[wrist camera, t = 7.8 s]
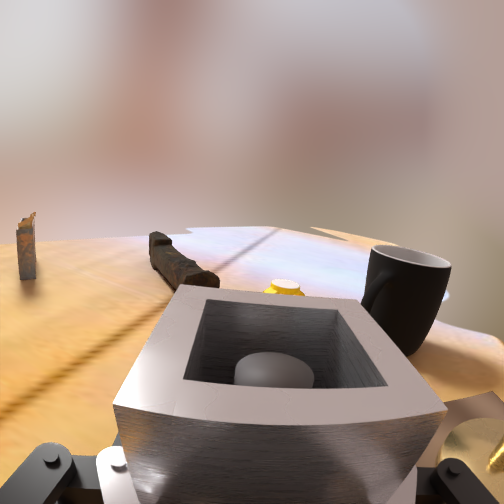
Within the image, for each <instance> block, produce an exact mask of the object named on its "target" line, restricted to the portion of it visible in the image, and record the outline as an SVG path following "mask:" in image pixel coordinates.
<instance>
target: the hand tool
mask: <svg viewBox="0 0 504 504" xmlns="http://www.w3.org/2000/svg"><path fill="white" fill-rule="evenodd" d="M149 255H150V262H151V265H152V267H153V269H155V270H159V271H160V272H161V274H162V275H163V276H165V277H166V278H167V280H168V281H169V283H170V284H171V286H173V287H174V288H175V289H176V290H177V289H178V287H179V285H180V284H183V285H192V286H201V287H210V288H219V287H220V280H219V277H218V276H217V275H215V274H214V273H212V272H210V271H205V270H203V269H201V268H200V267H199V266H198V265H197V264H196V262H195V261H194V260H190V259H188V258H186V257H185V256H184V255H182V254H181V253H180V252H178V251H177V250H176V249H175V248H174V247H173V246H172V240H171V239H170V238H168V237H167V236H166V235H165V234H163V233H160V232H157V231H156V232H152V233H150V235H149Z"/></svg>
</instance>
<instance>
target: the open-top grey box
mask: <svg viewBox="0 0 504 504" xmlns="http://www.w3.org/2000/svg"><path fill="white" fill-rule="evenodd" d="M260 352H275V353H282V354H286V355H290V356H292V357H295V358H297V359H299V360H301V361H303V362H304V363H306V364H307V365H308V366H309V367H310V368H311V370H312V371H313V374H314V382H313V386H312V389H295V388H269V387H252V386H239V385H234V377H235V368H236V365H237V363H238V362H239V361H240V360H241V359H242V358H244V357H246V356H248V355H251V354H254V353H260ZM113 408H114V413H115V417H116V422H117V426H118V431H119V435H120V439H121V443H122V447H123V451H124V454H125V458H126V462H127V465H128V469H129V472H130V475H131V479H132V482H133V485H134V488H135V491H136V494H137V497H138V500H141V501H145V502H150V503H155V504H376V503H381V502H385V501H388V500H389V499H390V498H391V496H392V495H393V494H394V493H395V491H396V490H397V489H398V488H399V486H400V485H401V484H402V482H403V481H404V480H405V478H406V477H407V475H408V474H409V473H410V471H411V470H412V468H413V467H414V465H415V464H416V463H417V461H418V460H419V458H420V457H421V455H422V454H423V452H424V450H425V449H426V447H427V446H428V444H429V443H430V441H431V439H432V438H433V436H434V434H435V433H436V431H437V429H438V427H439V426H440V424H441V422H442V420H443V419H444V417H445V415H446V413H447V411H448V408H447V407H446V406H445V405H444V403H443V402H442V401H441V400H440V398H439V397H438V396H437V395H436V393H435V392H434V391H433V390H432V388H431V387H430V386H429V385H428V383H427V382H426V381H425V380H424V378H423V377H422V376H421V375H420V373H419V372H418V371H417V370H416V369H415V367H414V366H413V365H412V364H411V363H410V361H409V360H408V359H407V358H406V357H405V355H404V354H403V353H402V352H401V351H400V349H399V348H398V347H397V346H396V345H395V343H394V342H393V341H392V340H391V339H390V338H389V336H388V335H387V334H386V333H385V332H384V331H383V329H382V328H381V327H380V326H379V325H378V324H377V322H376V321H375V320H374V319H373V318H372V317H371V316H370V314H369V313H368V312H367V311H366V310H365V309H364V308H363V306H362V305H361V304H360V303H359V302H358V301H357V300H353V299H338V298H323V297H309V296H297V295H284V294H273V293H261V292H250V291H240V290H230V289H220V288H210V287H201V286H192V285H183V284H180V285H179V287H178V289H177V290H176V292H175V294H174V295H173V297H172V299H171V301H170V302H169V304H168V306H167V307H166V309H165V311H164V312H163V314H162V316H161V318H160V319H159V321H158V323H157V324H156V326H155V328H154V330H153V331H152V333H151V335H150V337H149V338H148V340H147V342H146V344H145V345H144V347H143V349H142V351H141V353H140V354H139V356H138V358H137V360H136V361H135V363H134V365H133V367H132V369H131V371H130V372H129V374H128V376H127V378H126V380H125V381H124V383H123V385H122V387H121V389H120V391H119V393H118V394H117V396H116V398H115V400H114V402H113Z"/></svg>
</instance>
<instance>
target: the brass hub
mask: <svg viewBox="0 0 504 504" xmlns="http://www.w3.org/2000/svg"><path fill="white" fill-rule="evenodd" d="M446 458H457V459H460V460H461V461H463V462H464V463H465V464H466V465H467V466H468V467H469V468H470V469H471V471H472V472H473V473H474V474H475V475H476V476H477V478H478V479H479V480H480V481H481V482H482V483H483V484H484V486H485V487H486V488H487V489H488V490H489V492H490V493H491V494H492V495H493V496H494V497H495V499H496V500H497V501H498V502H499V503H500V504H504V421H503V420H499V419H493V418H477V419H472V420H468V421H465V422H463V423H461V424H459V425H458V426H456V427H455V428H454V429H453V430H452V431H451V432H450V433H449V435H448V436H447V438H446V439H445V441H444V442H443V444H442V445H441V447H440V449H439V451H438V453H437V456H436V460H435V467H437V466H438V464H439V463H440V462H441V461H442V460H444V459H446Z"/></svg>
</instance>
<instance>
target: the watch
mask: <svg viewBox="0 0 504 504" xmlns="http://www.w3.org/2000/svg"><path fill="white" fill-rule="evenodd" d="M263 293H273V294H284V295H297V296H305V294H304V293H303V292H301V291H300V285H299V284H298V283H296V282H293V281H290V280H285V279H274V280H272V282H271V287H269V288H268V289H266V290H265V291H263Z"/></svg>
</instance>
